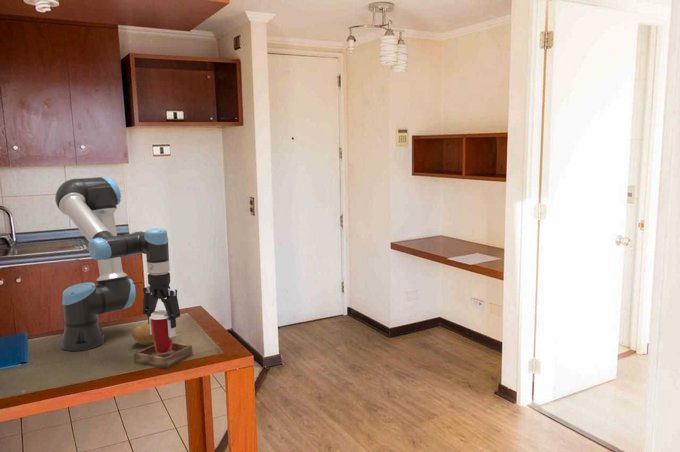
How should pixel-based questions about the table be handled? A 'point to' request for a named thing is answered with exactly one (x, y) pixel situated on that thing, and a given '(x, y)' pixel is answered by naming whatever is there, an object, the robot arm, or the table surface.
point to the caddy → (163, 355)
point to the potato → (143, 335)
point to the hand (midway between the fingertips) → (162, 334)
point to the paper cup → (161, 331)
